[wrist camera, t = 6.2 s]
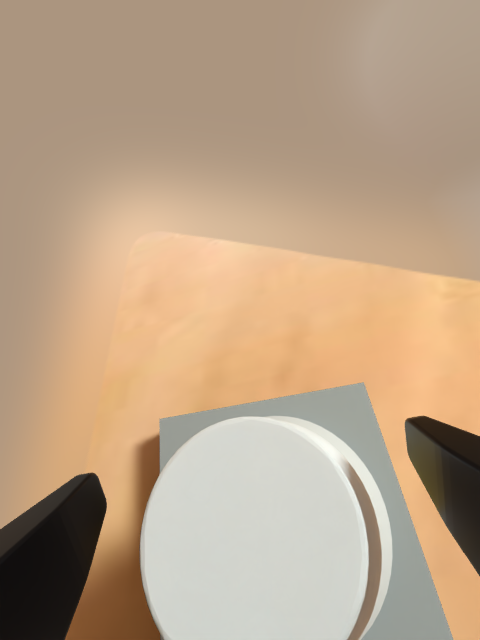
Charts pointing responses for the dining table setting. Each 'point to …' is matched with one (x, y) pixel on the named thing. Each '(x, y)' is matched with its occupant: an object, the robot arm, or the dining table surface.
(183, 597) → the supplement bottle
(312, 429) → the scale
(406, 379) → the dining table surface
